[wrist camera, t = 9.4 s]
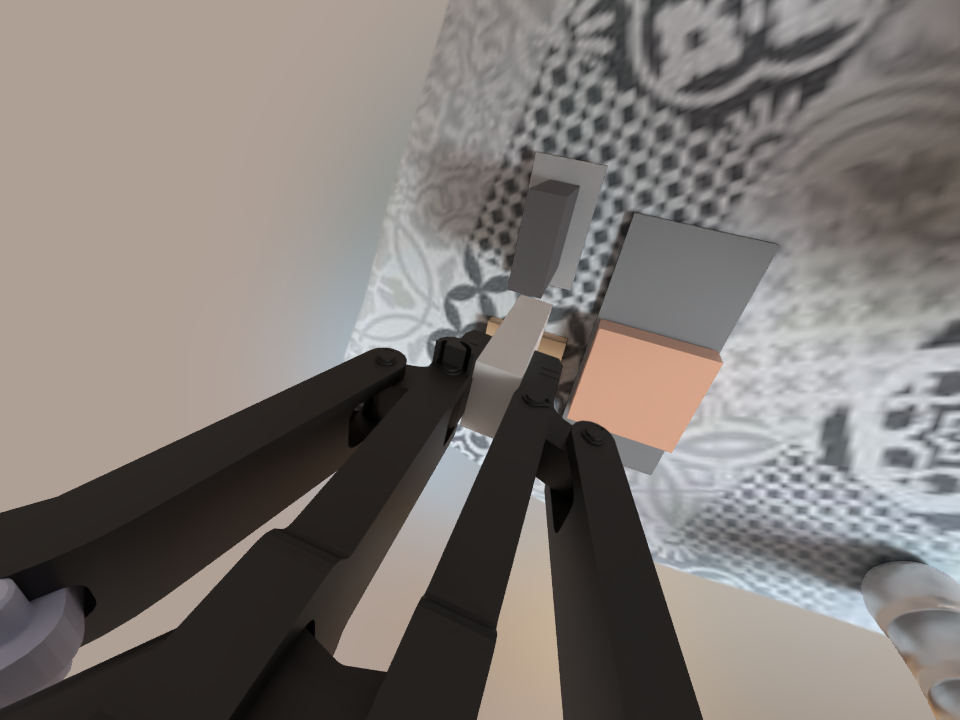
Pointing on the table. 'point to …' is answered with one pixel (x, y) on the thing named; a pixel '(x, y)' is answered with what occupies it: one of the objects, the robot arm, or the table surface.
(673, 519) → the table surface
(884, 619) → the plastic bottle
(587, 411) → the tile
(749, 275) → the mat
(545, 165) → the grout float
